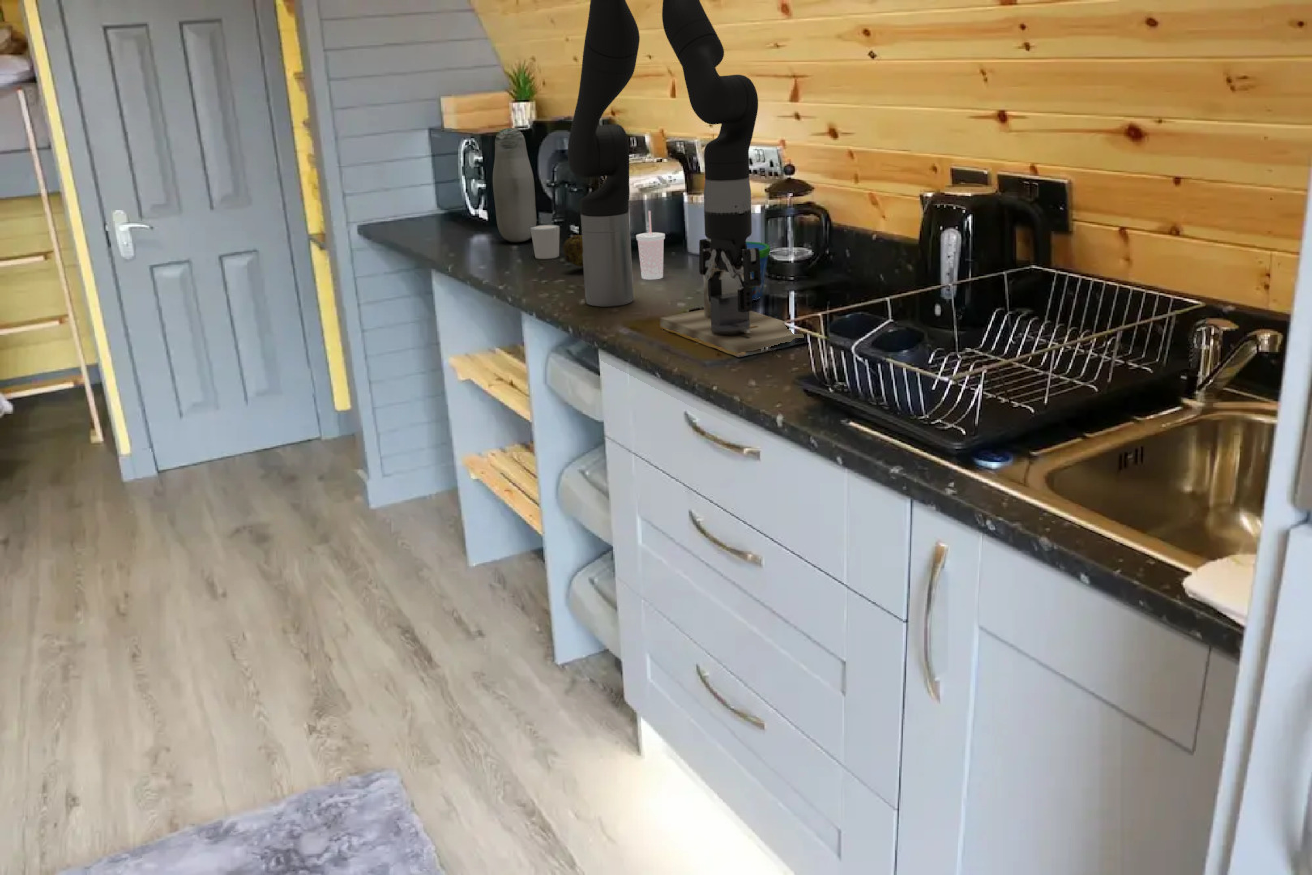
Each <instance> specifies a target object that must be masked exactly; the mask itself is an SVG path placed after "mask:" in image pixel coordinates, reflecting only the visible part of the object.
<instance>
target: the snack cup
mask: <svg viewBox="0 0 1312 875" xmlns="http://www.w3.org/2000/svg"><path fill="white" fill-rule="evenodd" d="M746 245H747V248H748V249H751V248H758V249H759V252H760V273H761V285H759V286H755V287H753V288H752V300H753V299H757V298H759V297H761V298H762V296H763V293H764V285H765V279H766V270H767V267H768V266H767V264H768V257H769V256H770V253H771V247H770V245H768V244H767V243H764V242H759V241H746ZM750 274H751V276H752V279H754V271H752V272H751V273H750Z"/></svg>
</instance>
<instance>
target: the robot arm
mask: <svg viewBox="0 0 1312 875" xmlns="http://www.w3.org/2000/svg"><path fill="white" fill-rule="evenodd" d="M661 11H662V13H661V17H662V18H661V19H662V27H663V30H664V33H665V36H666V38H667V41H668V43H669V45H670V47H671V48H672V50H673V53H674V54H675V56H676V57H677V60H678V61H679V64H680V65H681V67H682V72H683V77H684V83H685V86H686V90H687V94H688V99H689V103H690V107H691V109H692V110H693V112H694V114H695V115H696V116H697V117H698V118H699V119H700V121H702V122H704V123H705V124H708V125H720V130H719V133H718V135H717V137H715V138H714V139H712V140H710V141H709V142H707V144H706V145H705V147H704V153H703V156H704V157H703V158H704V159H703V161H704V187H703V208H704V210H703V212H704V215H703V216H704V217H703V218H704V220H703V222H704V237H705V238H703V239H701V238H700V239H699V241H698V244H699V245H698V246H699V248H698V253H699V254H698V257H699V259H698V260H699V261H698V262H699V263H698V266H699V267H698V270H699V272H698V273H699V275H700V276H703V275H705V278H706V280H708V296H709V302H711V297H712V296H718V295H722V282H721V280H720V279H719V278H721V276H722V274H723V272H724V270H725V271H727V272H729V273H730V276H731V277H732V278H734V279H735V281H736V284H737V286H738V288H739V289H738V311H739V312H742V313H743V312H748V311H752V307H753V301H752V288H753V287H755V286H759V285H761V273H760V252H759V249H758V248H751V249H748V248H747V245H746V242H747V240H748V238H749V237H750V236H751V235H752V232H753V231H752V230H753V227H752V226H753V225H752V224H753V223H752V221H753V220H752V191H751V190H752V189H751V182H750V159H749V158H750V155H749V154H750V153H749V152H750V151H749V150H750V147H751V142H752V139H753V135H754V131H755V125H756V123H757V122H756V121H757V116H758V109H759V97H758V92H757V90H756V86H755V84H754V83H753V81H752V80H751V79H750V78H749V77H747V76H746V75H742V74H730V75H719V73H718V71H717V66H719V65H720V64H721V63H722V61H723V59H724V57H725V49H724V46H723V44H722V41H721V40H720V38H719V36H718V34H717V32H716V30H715V27H714V26H713V24H712V22H711V21H710V19H709V16H708V15H707V13H706V11H705V9H704V7H703V5H702V3H701V1H700V0H662V10H661ZM637 24H638V23H637V22H636V20H635V17H634V15H633V13H632V11H631V9H630V8H629V5H628V3H627V0H590V4H589V11H588V18H587V26H586V31H585V36H584V42H583V43H584V44H583V51H582V64H581V73H580V81H579V88H578V89H579V90H578V96H577V101H576V104H575V109H574V113H573V118H572V122H571V127H570V132H569V135H568V137H569V138H568V143H567V161H568V167H569V170H571V173H572V174H573V175H574V176H576V177H577V178H583V179H584V178H587V179H588V178H597V177H598V178H599V177H606V178H605V180H604V183H603V184H602V185H601V186H600V187H599V188H597V189H596V190H595V191H593V192H591V193H589V194H587V195H585V196H584V197H582V198H581V199H580V202H579V210H580V223H581V235H582V242H583V267H582V269H583V283H584V284H583V285H584V298H585V302H586V304H587V305H589V306H594V307H595V306H596V307H617V306H624V305H627V304H630V303H632V302H634V286H633V285H634V284H633V280H634V279H633V264H632V262H633V261H632V245H631V244H632V241H631V228H630V226H631V225H630V206H629V203H630V192H631V191H630V189H631V188H630V145H629V144H630V143H629V138H628V134H627V133H626V130H625V128H624V127H623V126H622V125H619V124H615V123H614V124H601V125H599V122H600V120H601V118H602V116H603V114H604V113H605V111H606V110H607V109H608V107H609V106H611V104H612V103H613V101H614V100H615V99H616V98H617V97H618V96H619V95H620V94H621V92H622V91H623V90H624V89H625V88H626V86H627V85H628V83H629V82H630V80H631V79H632V77H633V76H634V72H635V70H636V64H637V60H638V52H639V46H640V38H641V37H640V30H639V27H638V25H637ZM707 261H708V262H707ZM706 262H707V264H706ZM706 265H707V266H706ZM742 266H743V269H741V267H742ZM752 271H754V279H752V276H751V274H750V273H751V272H752ZM742 276H744V281H743V280H742V278H741V277H742Z"/></svg>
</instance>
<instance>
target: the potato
mask: <svg viewBox="0 0 1312 875" xmlns="http://www.w3.org/2000/svg"><path fill="white" fill-rule="evenodd" d="M562 247H563V253H564V256H565V261H566V262H568V263H571V264H573V265H575V266H578V267H582V268H583V242H582V234H581V235H580V234H576V235H572V236H571V237H568V238H567V239H565V240H564V243H563V246H562Z"/></svg>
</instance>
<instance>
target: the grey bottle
mask: <svg viewBox="0 0 1312 875" xmlns="http://www.w3.org/2000/svg"><path fill="white" fill-rule="evenodd" d="M495 136H496V137H495V141H494V163H493V170H492V188H493V189H492V190H493V198H494V200H493V201H494V207H495V216H496V225H497V228H498V229H497V230H498V231H499V233H500V235H501V236H502V238H503V239H505V240H506V241H508V242H510V243H521V242H523V243H524V242H526V241H528V240H530V239H531V238H532V235H531V229H530V228H531V227H534V226H537V208H536V207H537V205H536V192H535V178H534V173H533V169H532V166H531V162H530V159H529V156H528V155H529V154H528V150H527V144H526V139H525V136H524V134H523V133H522V132H521V131H520V130H519V129H518V128H513V127H511V128H510V127H509V128H503V129H500V131H499V132H497V134H496V135H495Z"/></svg>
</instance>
